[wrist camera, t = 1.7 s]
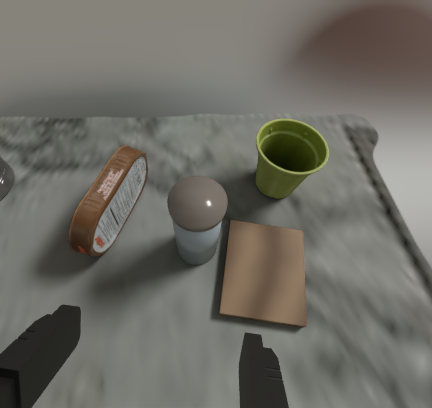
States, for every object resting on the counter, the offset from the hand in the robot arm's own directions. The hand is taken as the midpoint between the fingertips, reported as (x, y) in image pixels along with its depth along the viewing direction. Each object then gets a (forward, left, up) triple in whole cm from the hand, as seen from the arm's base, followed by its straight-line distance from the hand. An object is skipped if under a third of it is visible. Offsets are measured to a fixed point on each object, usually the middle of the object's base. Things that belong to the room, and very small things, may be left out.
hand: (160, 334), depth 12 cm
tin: (-11, +15, -19) cm, 27 cm away
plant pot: (+10, +24, -19) cm, 32 cm away
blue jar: (0, +12, -19) cm, 22 cm away
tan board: (+9, +10, -19) cm, 23 cm away
